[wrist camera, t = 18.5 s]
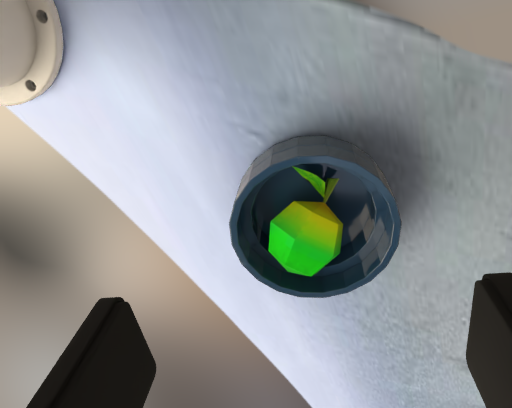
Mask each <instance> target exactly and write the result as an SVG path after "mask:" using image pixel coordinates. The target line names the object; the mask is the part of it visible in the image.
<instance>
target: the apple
mask: <svg viewBox="0 0 512 408" xmlns="http://www.w3.org/2000/svg"><path fill="white" fill-rule="evenodd" d="M292 167H293V168H294V169H295V170H296V171H297V172H298V173H299V174H300V175H301V176H302V177H304V178H305V179H306V180H307V181H308V182H309V183H310V184H311V185H312V186H313V187H314V188H315V189H316V190H317V191H318V192H319V193H320V194H321V195H322V197H323V202H307V201H293V202H292V203H291V204H290V205H289V206H287V207H286V208H285V209H284V210H283V211H282V212H281V213H280V214H278V215H277V216H276V217H275V218H274V219H273V220H272V221H271V222H270V236H269V250H268V251H269V252H270V253H271V254H272V255H273V256H274V257H275V259H276V260H277V261H278V262H279V263H280V264H281V265H282V266H283V267H284V268H285V269H286V270H287V271H288V272H291V273H296V274H301V275H305V276H310V277H311V276H313V275H314V274H316V273H318V272H319V271H320V270H321V269H322V268H323V267H325V266H326V265H327V264H328V263H329V262H330V261H332V260H333V259H334V258H335V257H336V256H337V255H339V254H340V249H341V240H342V230H343V223H342V222H341V221H340V220H339V219H338V218H337V216H336V215H335V214H334V213H333V212H332V211H331V210H330V208H329V207H328V206H327V205H326V204H325V203H326V201H327V200H328V198H329V196H330V194H331V193H332V191H333V189H334V187H335V185H336V184H337V182H338V180H339V178H327V182H326V187H325V182H324V181H323V180H322V179H321V178H320V177H319V176H318V175H316V174H313V173H310V172H307V171H305V170H302V169H299V168H296V167H294V166H292Z"/></svg>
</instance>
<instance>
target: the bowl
mask: <svg viewBox="0 0 512 408" xmlns="http://www.w3.org/2000/svg"><path fill="white" fill-rule="evenodd" d="M292 166H294V167H296V168H299V169H302V170H305V171H307V172H310V173H313V174H316V175H318V176H319V177H320V178H321V179H322V180H323V181H324V182H325V187H326V182H327V178H339V180H338V182H337V184H336V185H335V187H334V189H333V191H332V193H331V194H330V196H329V198H328V200H327V201H326V203H325V204H326V205H327V206H328V207H329V208H330V210H331V211H332V212H333V213H334V214H335V215H336V216H337V218H338V219H339V220H340V221H341V222H342V223H343V230H342V240H341V249H340V254H339V255H337V256H336V257H335V258H334V259H333V260H332V261H330V262H329V263H328V264H327V265H326V266H325V267H323V268H322V269H321V270H320V271H319V272H318V273H316V274H314V275H313V276H311V277H310V276H305V275H301V274H296V273H291V272H288V271H287V270H286V269H285V268H284V267H283V266H282V265H281V264H280V263H279V262H278V261H277V260H276V259H275V257H274V256H273V255H272V254H271V253H270V252H269V251H268V250H269V236H270V222H271V221H272V220H273V219H274V218H275V217H276V216H277V215H278V214H280V213H281V212H282V211H283V210H284V209H285V208H286V207H287V206H289V205H290V204H291V203H292V202H293V201H307V202H323V197H322V195H321V194H320V193H319V192H318V191H317V190H316V189H315V188H314V187H313V186H312V185H311V184H310V183H309V182H308V181H307V180H306V179H305V178H304V177H302V176H301V175H300V174H299V173H298V172H297V171H296V170H295V169H294V168H293V167H292ZM229 226H230V234H231V242H232V246H233V248H234V250H235V252H236V254H237V256H238V258H239V260H240V262H241V264H242V265H243V266H244V267H245V268H246V269H247V270H248V271H249V272H250V273H251V274H252V275H253V276H254V277H255V278H256V279H257V280H258V281H260V282H262V283H264V284H266V285H267V286H269V287H271V288H273V289H275V290H276V291H279V292H282V293H286V294H290V295H294V296H297V297H314V298H324V297H325V298H326V297H330V296H335V295H339V294H344V293H348V292H350V291H352V290H354V289H356V288H358V287H360V286H362V285H364V284H366V283H368V282H370V281H371V280H372V279H374V278H375V277H376V276H377V275H378V274H379V273H380V272H381V271H382V270H383V269H384V268H385V267H386V266H387V265H388V263H389V261H390V260H391V258H392V256H393V254H394V252H395V251H396V249H397V247H398V244H399V237H400V230H401V219H400V215H399V211H398V207H397V203H396V200H395V198H394V195H393V193H392V191H391V189H390V187H389V185H388V183H387V180H386V178H385V176H384V174H383V173H382V171H381V170H380V169H379V167H378V166H377V165H376V163H375V162H374V160H373V159H372V158H371V157H370V156H369V155H368V154H366V153H365V152H363V151H362V150H360V149H359V148H357V147H356V146H354V145H353V144H351V143H349V142H346V141H343V140H339V139H335V138H332V137H328V136H299V137H295V138H292V139H290V140H287V141H284V142H281V143H278V144H275V145H273V146H272V147H271V148H269V149H268V150H267V151H265V152H264V153H263V154H261V155H260V156H259V157H257V158H256V159H255V160H254V161H253V163H252V164H251V166H250V167H249V169H248V170H247V172H246V173H245V175H244V176H243V178H242V180H241V183H240V186H239V190H238V193H237V196H236V199H235V202H234V206H233V210H232V214H231V218H230V222H229Z"/></svg>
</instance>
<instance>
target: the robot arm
mask: <svg viewBox="0 0 512 408" xmlns="http://www.w3.org/2000/svg"><path fill="white" fill-rule="evenodd" d="M46 14H47V16H46ZM47 17H48V18H47ZM62 55H63V35H62V27H61V23H60V19H59V15H58V11H57V8H56V6H55V3H54V1H53V0H0V106H12V105H18V104H22V103H25V102H28V101H30V100H33V99H35V98H36V97H38V96H40V95H41V94H43V93H44V92H45V91H46V90H47V89H48V88H49V87H50V86H51V85H52V83H53V81H54V80H55V78H56V76H57V75H58V72H59V69H60V65H61V62H62ZM466 360H467V364H468V368H469V370H470V372H471V375H472V377H473V379H474V381H475V383H476V386H477V388H478V390H479V392H480V395H481V397H482V399H483V401H484V403H485V406H486V408H512V273H494V274H484V276H483V278H482V280H478V281H476V282H475V288H474V295H473V303H472V311H471V318H470V326H469V334H468V342H467V349H466ZM155 374H156V363H155V360H154V358H153V356H152V354H151V352H150V349H149V347H148V345H147V343H146V340H145V338H144V336H143V333H142V331H141V329H140V327H139V324H138V323H137V320H136V318H135V316H134V313H133V311H132V309H131V307H130V305H129V303H128V302H125V301H124V300H123V298H121V297H115V298H101V299H99V300H98V302H97V303H96V304H95V306H94V307H93V309H92V310H91V312H90V313H89V315H88V316H87V318H86V319H85V321H84V322H83V324H82V325H81V327H80V328H79V330H78V331H77V333H76V334H75V336H74V337H73V339H72V340H71V342H70V343H69V345H68V346H67V348H66V349H65V351H64V352H63V353H62V355H61V356H60V358H59V360H58V361H57V362H56V364H55V366H54V367H53V368H52V370H51V371H50V373H49V375H48V376H47V378H46V379H45V380H44V382H43V383H42V385H41V386H40V388H39V389H38V391H37V392H36V394H35V395H34V397H33V398H32V400H31V401H30V403H29V404H28V406H27V407H26V408H143V406H144V403H145V400H146V398H147V395H148V393H149V390H150V388H151V385H152V382H153V380H154V377H155Z"/></svg>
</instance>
